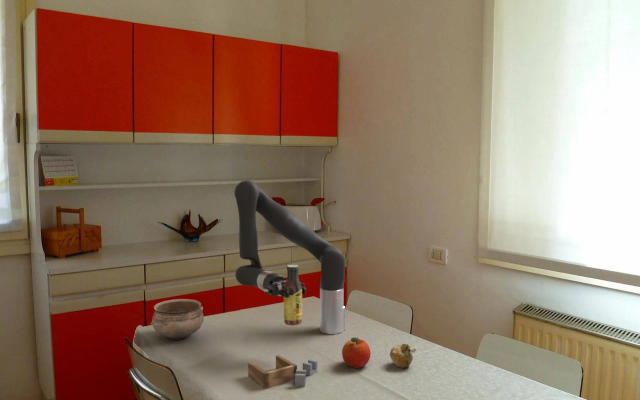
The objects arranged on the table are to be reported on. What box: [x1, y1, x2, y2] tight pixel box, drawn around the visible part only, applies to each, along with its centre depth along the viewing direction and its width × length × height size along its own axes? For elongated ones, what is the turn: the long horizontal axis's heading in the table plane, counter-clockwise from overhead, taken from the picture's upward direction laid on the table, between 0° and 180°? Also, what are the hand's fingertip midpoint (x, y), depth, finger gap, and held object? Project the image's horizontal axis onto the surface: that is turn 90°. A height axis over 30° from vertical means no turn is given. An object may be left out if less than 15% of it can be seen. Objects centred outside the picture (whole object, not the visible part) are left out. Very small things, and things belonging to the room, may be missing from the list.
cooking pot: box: [150, 298, 205, 341], centre depth 204 cm, size 25×19×12 cm
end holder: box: [247, 354, 298, 390], centre depth 168 cm, size 11×11×4 cm
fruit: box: [341, 336, 372, 369], centre depth 178 cm, size 10×10×10 cm
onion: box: [389, 343, 417, 369], centre depth 178 cm, size 8×8×8 cm
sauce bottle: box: [283, 264, 303, 326], centre depth 182 cm, size 6×6×20 cm
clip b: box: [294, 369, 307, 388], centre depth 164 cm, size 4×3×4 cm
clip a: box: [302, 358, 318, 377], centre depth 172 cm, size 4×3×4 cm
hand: (297, 293), depth 180 cm, fingers closed on sauce bottle, 6 cm apart
